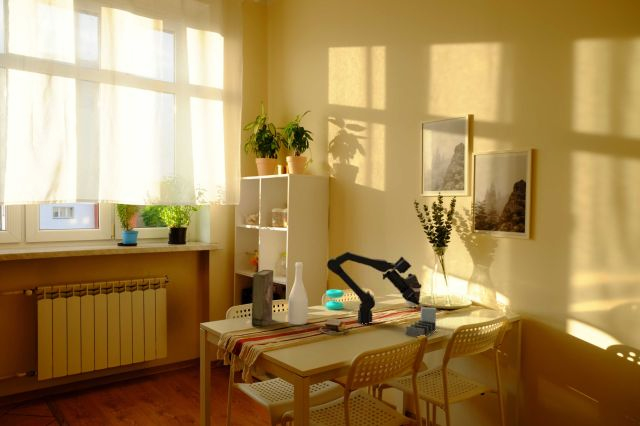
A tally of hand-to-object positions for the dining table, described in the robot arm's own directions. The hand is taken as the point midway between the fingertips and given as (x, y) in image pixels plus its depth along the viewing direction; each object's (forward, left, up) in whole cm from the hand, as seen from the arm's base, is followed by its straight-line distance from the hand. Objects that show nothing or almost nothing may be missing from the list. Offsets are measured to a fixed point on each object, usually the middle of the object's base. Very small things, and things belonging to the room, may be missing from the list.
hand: (418, 302), depth 254 cm
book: (-72, +28, -12) cm, 78 cm away
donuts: (-24, +47, -12) cm, 54 cm away
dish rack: (-7, -13, -11) cm, 18 cm away
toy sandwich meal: (-46, +3, -12) cm, 47 cm away
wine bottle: (-56, +22, -12) cm, 61 cm away
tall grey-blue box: (+4, -2, -11) cm, 13 cm away
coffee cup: (+22, +37, -12) cm, 45 cm away
